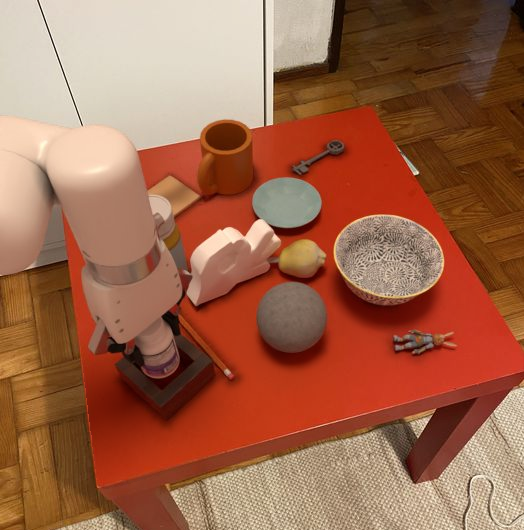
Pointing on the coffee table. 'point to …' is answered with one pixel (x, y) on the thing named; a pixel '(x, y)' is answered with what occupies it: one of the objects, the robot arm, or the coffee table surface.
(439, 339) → the figurine
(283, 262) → the fruit
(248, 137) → the mug
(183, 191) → the coaster
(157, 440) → the coffee table surface
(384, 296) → the bowl
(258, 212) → the saucer
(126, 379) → the holder
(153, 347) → the pill bottle
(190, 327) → the pencil
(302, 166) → the key
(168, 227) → the bottle
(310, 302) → the decorative ball
